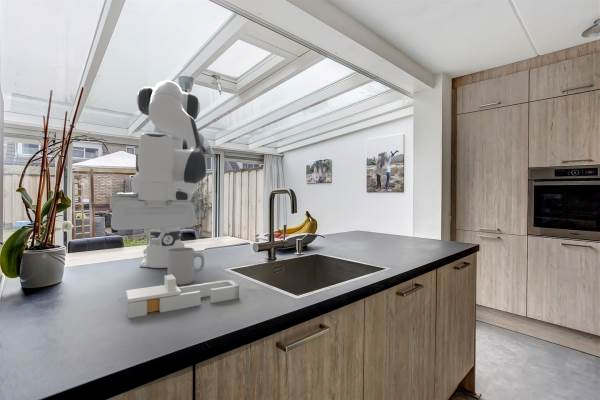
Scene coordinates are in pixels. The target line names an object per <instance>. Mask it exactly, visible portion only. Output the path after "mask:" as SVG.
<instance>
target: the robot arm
mask: <svg viewBox="0 0 600 400" xmlns="http://www.w3.org/2000/svg"><path fill="white" fill-rule="evenodd" d="M136 105H137V107H138V110H139V111H140V113H141V114H142V115H145V116H148V117H149V119H150V121H151V123H152V124H153V125H154V128H153V129H154V130H153V131H144V132H142V133H141V134H140V137H139V141H138V149H137V154H136V155H135V170H136V173H135V174H134V175H133V176H132V179H131V182H130V184H131V189H132V191H133V192H125V193H124V192H117V193H115V194H113V195H111V196H110V197H109V199H108V200H109V202H108V203H109V209H110V210H111V211H112V212H111V218H110V228H111V229H113V230H114V231H125V230H127V231H130V230H132V231H133V230H144V231H143V232H144V234H145V236H146V237H147V239H148V244H147V245H146V247H145V248H143V255H144V257H143V259H142V261H141V263H140V264H139V265H140V266H139V267H140V268H151V269H165V268H168V250H169V249H172V248H181V247H185V245H186V244H185V243H184V242H183V241H182V240H181V239H182V233H181V232H182V231H181V230H180V229H182V228H183V229H185V228H193V227H195V225H196V224H197V218H196V208H195V205H194V203H193V202H191V201H192V199H193V195H195V192H196V191H197V185H198V183H200V182H201V181H203V180H204V179H205V178H206V175H207V172H208V162H207V159H206V156H205V153H204V151H203V147H202V143H201V139H200V135H199V130H198V128H197V124H196V119H198V116H199V115H200V111H201V104H200V101H199V98H198V96H197V95H196V94H193V93H192V92H185V91H183V90H182V88H181V87H180V85H178V84H177V83H176V82H174V81H171V80H163V81H160V82H158V83H157V84H156V85H155V87H152V86H143V87H141V88H140V89H139V90H138V93H137V95H136ZM184 141H185V143H186V147H187V148H186V149H183V145H184V143H183V142H184Z"/></svg>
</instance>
